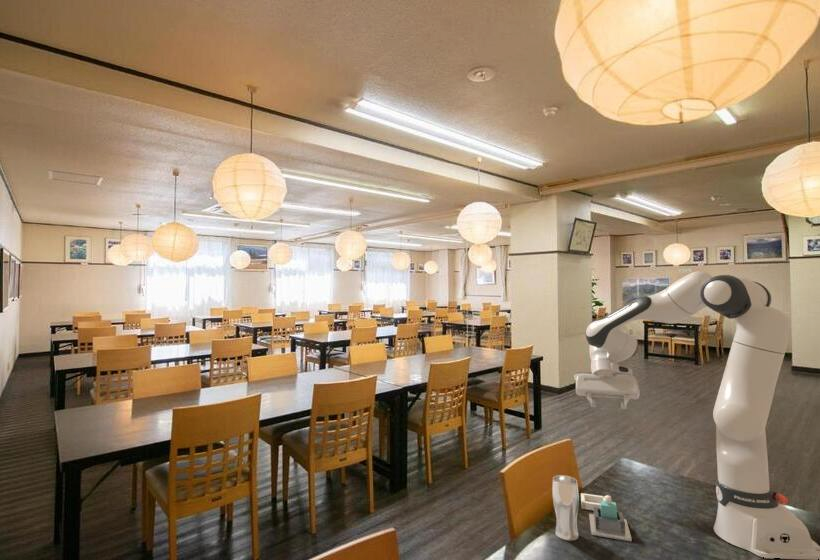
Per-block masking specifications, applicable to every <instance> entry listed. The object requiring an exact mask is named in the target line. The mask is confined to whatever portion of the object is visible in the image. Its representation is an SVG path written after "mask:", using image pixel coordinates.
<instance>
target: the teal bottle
mask: <svg viewBox="0 0 820 560" xmlns="http://www.w3.org/2000/svg"><path fill="white" fill-rule="evenodd" d="M604 496H605V501H602V500H600V504H601V517H604V518H611V519H617V510H618V507H617V503H616V502H615V501H612V496H611V495H608V494H607V495H604Z"/></svg>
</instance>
